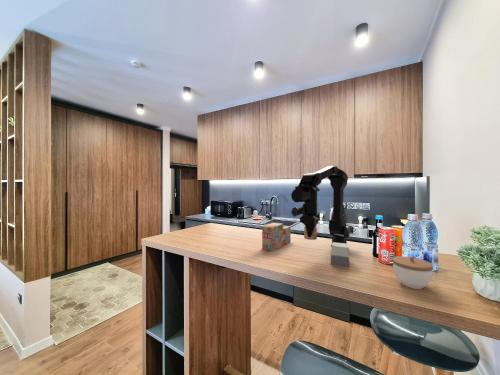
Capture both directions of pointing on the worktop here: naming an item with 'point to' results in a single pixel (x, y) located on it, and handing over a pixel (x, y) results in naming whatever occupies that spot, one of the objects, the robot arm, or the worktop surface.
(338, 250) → the sage top block
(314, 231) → the wooden block
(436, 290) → the worktop surface
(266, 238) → the stack of blocks
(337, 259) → the charcoal base block
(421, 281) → the lidded jar
